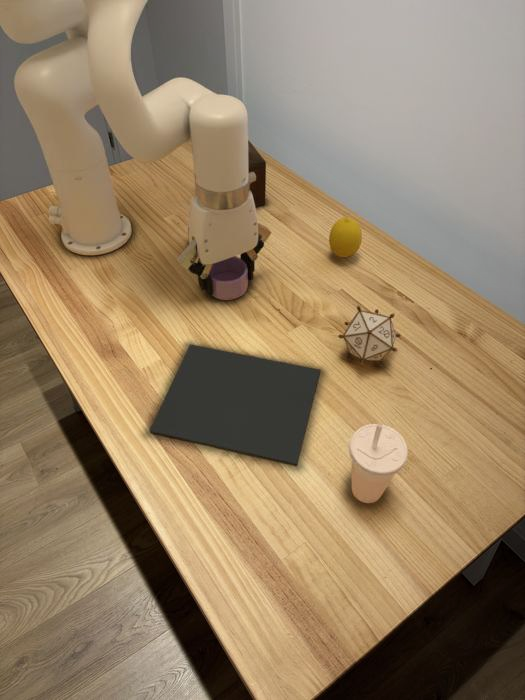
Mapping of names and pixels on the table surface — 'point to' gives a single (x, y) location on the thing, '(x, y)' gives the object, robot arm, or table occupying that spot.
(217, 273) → the dish
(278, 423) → the mat
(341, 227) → the lemon
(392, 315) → the game die
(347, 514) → the table surface
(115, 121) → the robot arm
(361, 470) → the smoothie
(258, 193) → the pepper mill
